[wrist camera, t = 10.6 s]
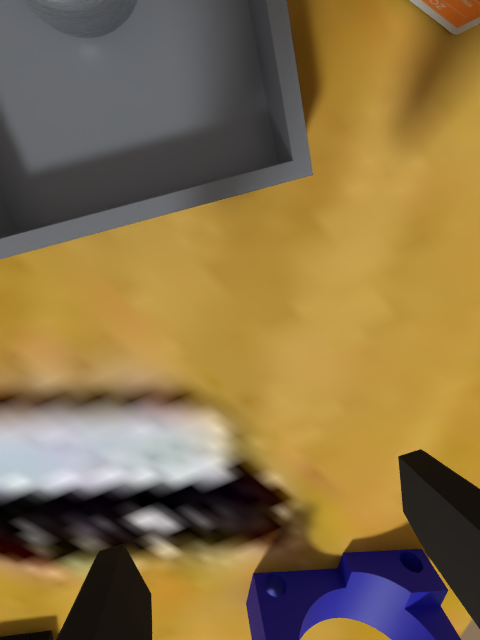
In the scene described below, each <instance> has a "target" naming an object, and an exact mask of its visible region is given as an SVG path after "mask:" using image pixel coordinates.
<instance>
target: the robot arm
mask: <svg viewBox="0 0 480 640" xmlns="http://www.w3.org/2000/svg"><path fill="white" fill-rule="evenodd" d="M398 457H399V469H400V480H401V491H402V503H403V512H404V514H405V516H406V517H407V519H408V521H409V523H410V525H411V526H412V528H413V530H414V532H415V534H416V535H417V537H418V539H419V541H420V542H421V544H422V546H423V548H424V549H425V551H426V553H427V554H428V556H429V557H430V559H431V560H432V562H433V563H434V564H435V566H436V567H437V569H438V570H439V572H440V573H441V574H442V576H443V577H444V579H445V580H446V582H447V583H448V585H449V586H450V587H451V589H452V590H453V592H454V593H455V595H456V596H457V597H458V599H459V600H460V602H461V603H462V605H463V606H464V607H465V609H466V610H467V612H468V613H469V614H470V616H471V617H472V619H473V620H474V621H475V623H476V624H477V626H478V627H479V629H480V489H479V488H478V487H476V486H475V485H473V484H472V483H470V482H469V481H467V480H466V479H464V478H463V477H461V476H460V475H458V474H457V473H455V472H454V471H452V470H451V469H449V468H448V467H446V466H445V465H444V464H442V463H441V462H439V461H438V460H436V459H435V458H433V457H432V456H430V455H429V454H428V453H426V452H425V451H423V450H421V449H420V450H417V451H414V452H411V453H408V454H405V455H401V456H398ZM56 640H152V607H151V593H150V591H149V589H148V587H147V585H146V584H145V582H144V580H143V578H142V576H141V575H140V573H139V571H138V569H137V567H136V565H135V564H134V562H133V560H132V558H131V556H130V555H129V553H128V551H127V549H126V547H125V545H124V544H121V545H118V546H114V547H111V548H108V549H105V550H102V551H99V553H98V554H97V556H96V558H95V560H94V562H93V564H92V566H91V568H90V571H89V573H88V575H87V577H86V579H85V581H84V583H83V585H82V587H81V590H80V592H79V594H78V596H77V598H76V600H75V602H74V604H73V606H72V608H71V610H70V612H69V615H68V617H67V619H66V621H65V623H64V625H63V627H62V629H61V631H60V633H59V635H58V637H57V639H56Z"/></svg>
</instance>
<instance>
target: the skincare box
mask: <svg viewBox="0 0 480 640" xmlns="http://www.w3.org/2000/svg"><path fill="white" fill-rule="evenodd" d="M410 1H411V2H412V3H413V4H415V5H416V6H417V7H419V8H420V9H421V10H422V11H424V12H425V13H426V14H428V15H429V16H430V17H432V18H433V19H434V20H435V21H437V22H438V23H439V24H441V25H442V26H443V27H445V28H446V29H447V30H448V31H449V32H451V33H452V34H455V35H457V34H460V33H462V32H464V31H466V30H468V29H470V28H473V27H475V26H477V25H479V24H480V0H410Z"/></svg>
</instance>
